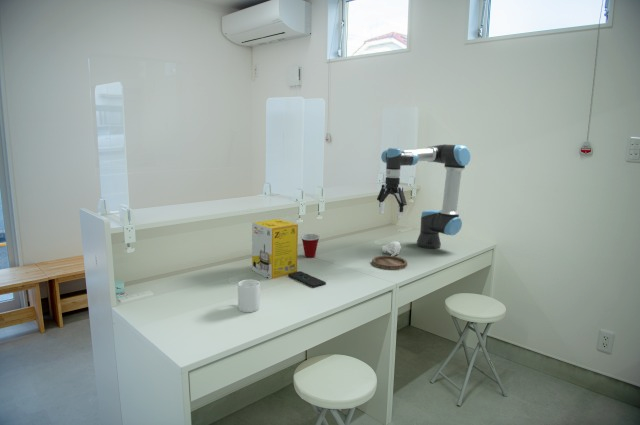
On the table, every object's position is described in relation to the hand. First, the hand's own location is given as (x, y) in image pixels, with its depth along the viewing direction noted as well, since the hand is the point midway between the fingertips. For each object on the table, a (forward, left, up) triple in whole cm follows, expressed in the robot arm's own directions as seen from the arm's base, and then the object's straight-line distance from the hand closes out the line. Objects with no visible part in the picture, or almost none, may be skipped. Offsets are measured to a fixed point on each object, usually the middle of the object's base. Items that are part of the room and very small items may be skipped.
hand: (390, 215), depth 233 cm
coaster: (+3, +4, -26) cm, 27 cm away
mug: (+94, +16, -26) cm, 99 cm away
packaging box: (+63, -17, -26) cm, 70 cm away
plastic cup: (+33, -30, -26) cm, 52 cm away
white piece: (-11, -10, -27) cm, 30 cm away
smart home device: (+56, +2, -27) cm, 62 cm away
